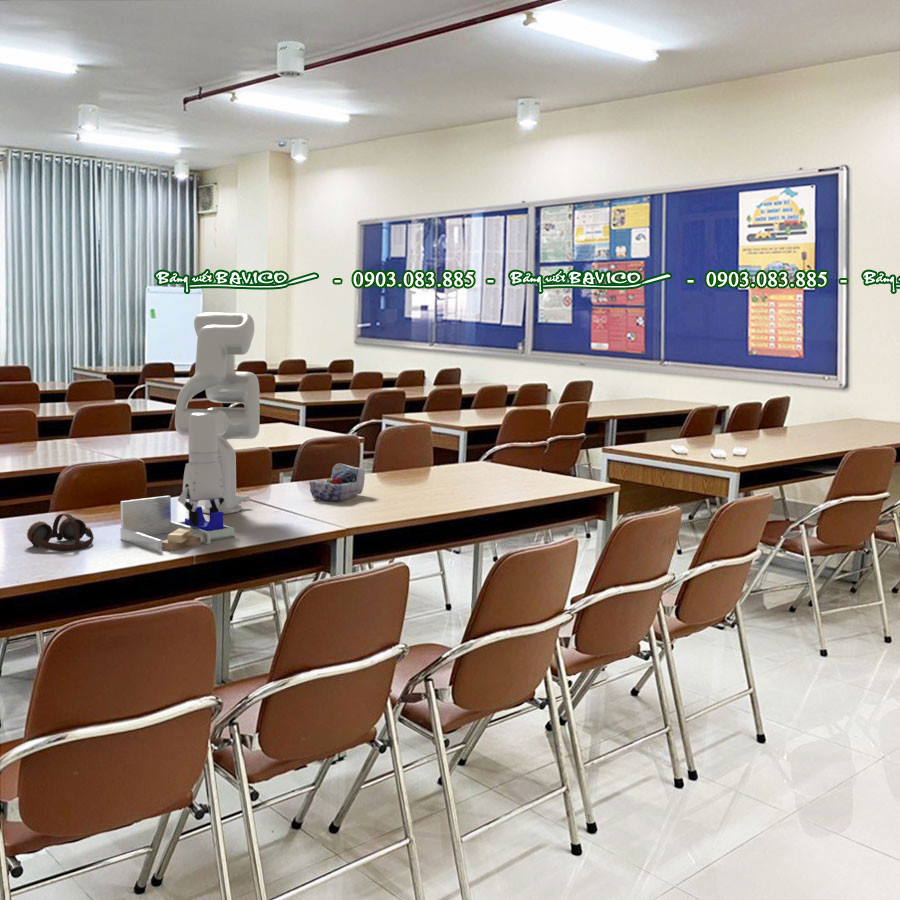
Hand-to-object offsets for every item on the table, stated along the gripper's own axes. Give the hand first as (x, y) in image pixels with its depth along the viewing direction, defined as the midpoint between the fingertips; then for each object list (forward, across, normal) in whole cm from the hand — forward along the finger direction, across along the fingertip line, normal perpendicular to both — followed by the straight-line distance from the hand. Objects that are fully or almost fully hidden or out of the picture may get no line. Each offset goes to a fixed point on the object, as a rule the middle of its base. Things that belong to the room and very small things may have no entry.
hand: (203, 523), depth 278 cm
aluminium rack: (+3, +13, +1) cm, 13 cm away
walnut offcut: (+4, +12, +9) cm, 16 cm away
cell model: (+3, -63, -21) cm, 67 cm away
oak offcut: (+1, +13, +9) cm, 16 cm away
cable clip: (+3, 0, 0) cm, 3 cm away
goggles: (+3, +34, -10) cm, 36 cm away
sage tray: (+3, 0, 0) cm, 3 cm away
